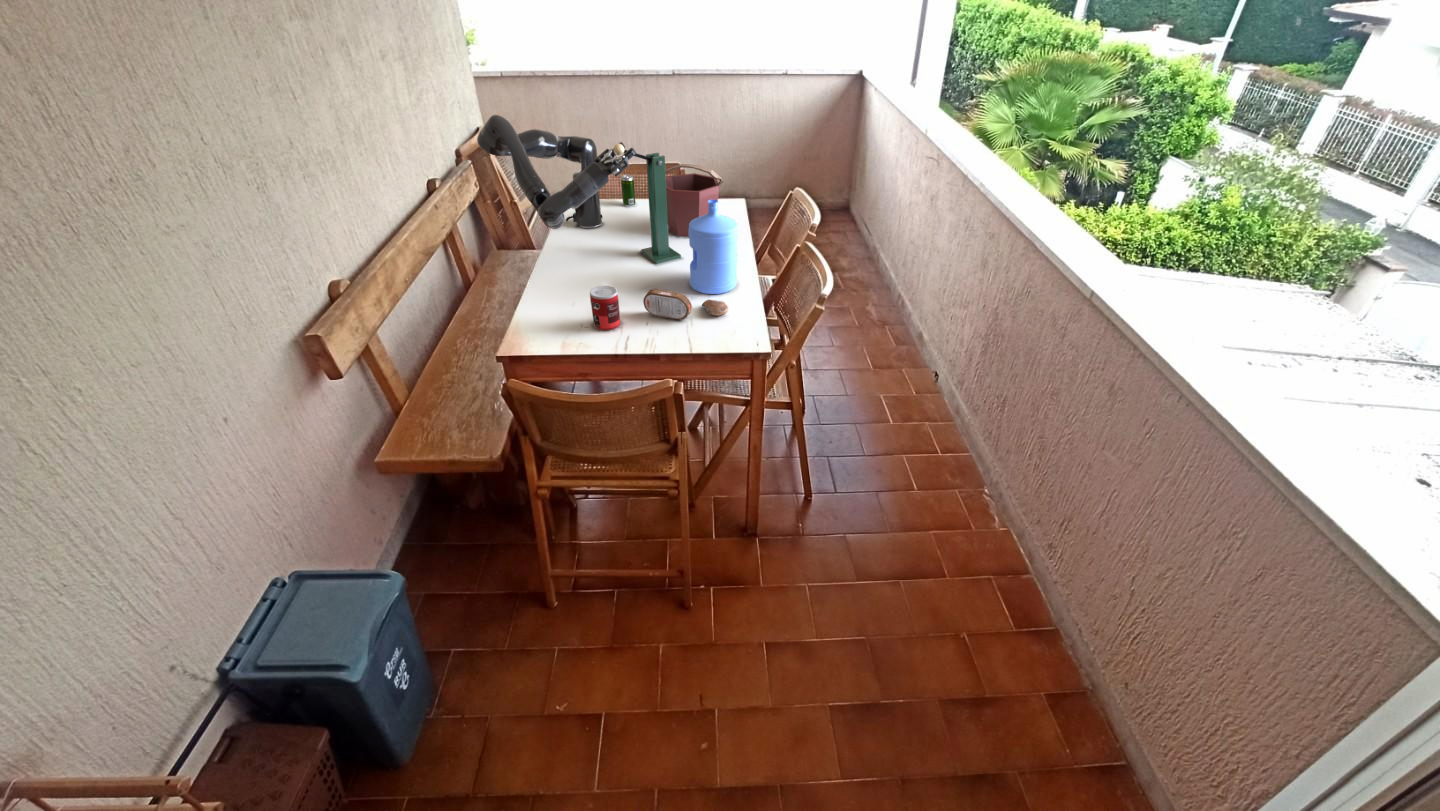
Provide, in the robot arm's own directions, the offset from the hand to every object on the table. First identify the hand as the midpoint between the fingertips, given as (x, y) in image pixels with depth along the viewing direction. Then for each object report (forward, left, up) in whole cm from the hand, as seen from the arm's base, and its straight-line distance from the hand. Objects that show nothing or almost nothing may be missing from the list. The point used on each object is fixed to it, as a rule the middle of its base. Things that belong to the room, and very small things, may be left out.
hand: (628, 147), depth 206 cm
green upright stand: (+7, +6, -39) cm, 40 cm away
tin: (+18, -39, -39) cm, 58 cm away
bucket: (+14, +32, -39) cm, 53 cm away
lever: (+2, +1, -4) cm, 5 cm away
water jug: (+29, -15, -39) cm, 51 cm away
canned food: (+1, -46, -39) cm, 60 cm away
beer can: (-17, +58, -39) cm, 72 cm away
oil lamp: (+32, -34, -39) cm, 61 cm away
